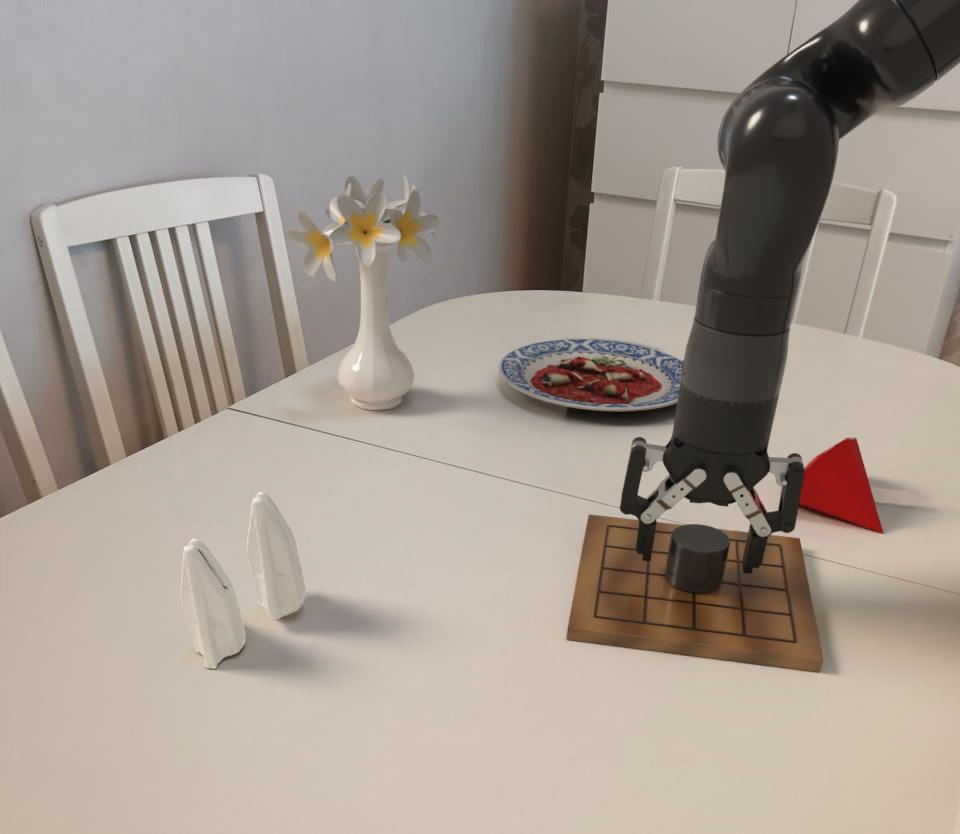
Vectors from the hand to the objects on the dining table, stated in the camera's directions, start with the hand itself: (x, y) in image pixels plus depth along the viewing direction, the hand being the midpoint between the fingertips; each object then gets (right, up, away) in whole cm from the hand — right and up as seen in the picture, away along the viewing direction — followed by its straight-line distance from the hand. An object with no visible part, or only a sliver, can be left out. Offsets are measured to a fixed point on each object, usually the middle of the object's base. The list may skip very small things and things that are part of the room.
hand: (696, 562), depth 83 cm
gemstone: (+18, +6, +15) cm, 24 cm away
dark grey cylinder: (0, -1, +1) cm, 2 cm away
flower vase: (-31, +22, +35) cm, 52 cm away
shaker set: (-37, -6, -5) cm, 38 cm away
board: (0, -2, +2) cm, 3 cm away
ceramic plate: (-4, +26, +42) cm, 50 cm away
